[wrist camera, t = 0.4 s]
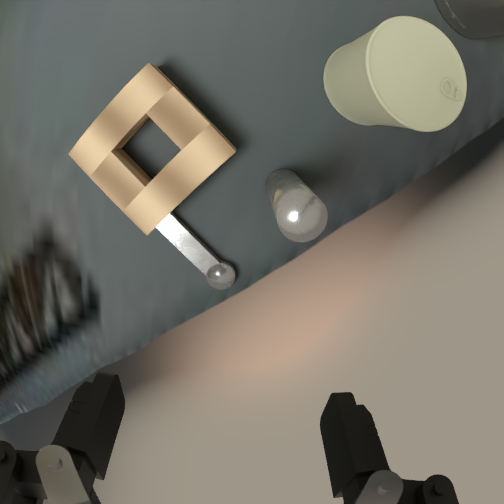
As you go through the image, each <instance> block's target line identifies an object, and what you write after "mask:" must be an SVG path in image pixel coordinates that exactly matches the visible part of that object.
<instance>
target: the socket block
mask: <svg viewBox="0 0 504 504" xmlns="http://www.w3.org/2000/svg"><path fill="white" fill-rule="evenodd" d="M149 118H151V119H152V120H153V121H154V122H155V123H156V124H157V125H158V126H159V127H160V128H161V129H162V130H163V131H164V132H165V133H166V134H167V135H168V136H169V137H170V138H171V139H172V141H173V142H174V143H175V144H176V145H177V146H178V147H179V148H180V149H181V151H180V152H179V153H178V154H177V155H176V156H175V157H174V158H173V159H172V160H171V161H170V162H169V163H168V164H167V165H166V166H165V167H164V168H163V169H162V170H161V171H160V172H159V173H158V174H157V175H156V176H155V177H154V178H153V179H151V178H150V177H149V176H148V175H147V174H146V173H145V172H144V171H143V170H142V169H141V168H140V167H139V166H138V165H137V164H136V163H135V162H134V161H133V159H132V158H131V157H130V156H129V155H128V154H127V153H126V152H125V151H124V150H123V149H122V147H123V146H124V145H125V144H126V143H127V142H128V141H129V139H130V138H131V137H132V136H133V135H134V134H135V133H136V132H137V131H138V130H139V129H140V128H141V127H142V126H143V124H144V123H145V122H146V121H147V120H148V119H149ZM235 152H236V148H235V147H234V146H233V145H232V143H231V142H230V141H229V140H228V139H227V138H226V137H225V136H224V135H223V134H222V133H221V132H220V131H219V130H218V129H217V128H216V126H215V125H214V124H213V123H212V122H211V121H210V120H209V119H208V118H207V117H206V116H205V115H204V114H203V113H202V112H201V111H200V110H199V109H198V108H197V107H196V106H195V105H194V104H193V103H192V102H191V101H190V100H189V99H188V98H187V97H186V96H185V95H184V94H183V93H182V91H181V90H180V89H179V88H178V87H177V86H176V85H175V84H174V83H172V82H171V81H170V80H169V79H168V78H167V77H166V76H165V75H164V74H163V73H162V72H161V71H160V70H159V69H158V68H157V67H156V66H154V65H152V64H151V63H148V64H147V65H146V66H145V67H144V68H143V69H142V70H141V71H140V72H139V73H138V74H137V75H136V76H135V77H134V78H133V79H132V80H131V81H130V82H129V83H128V84H127V85H126V86H125V87H124V88H123V89H122V90H121V91H120V92H119V93H118V95H117V96H116V97H115V98H114V99H113V100H112V101H111V102H110V103H109V105H108V106H107V107H106V108H105V109H104V110H103V111H102V113H101V114H100V115H99V116H98V117H97V118H96V120H95V121H94V122H93V123H92V124H91V126H90V127H89V128H88V129H87V131H86V132H85V133H84V134H83V136H82V137H81V138H80V139H79V141H78V142H77V143H76V145H75V146H74V147H73V149H72V150H71V151H70V153H69V155H70V156H71V158H72V159H73V160H74V161H75V162H76V163H77V164H78V165H79V166H80V167H81V168H82V169H83V170H84V172H85V173H86V174H87V175H88V176H89V177H90V178H91V179H92V180H93V181H94V182H95V183H96V184H97V185H98V186H99V187H100V188H101V189H102V190H103V192H104V193H105V194H106V195H107V196H108V197H109V198H110V199H111V200H112V201H113V202H114V203H115V204H116V205H117V206H118V207H119V208H120V209H121V210H122V211H123V212H124V213H125V214H126V215H127V216H128V217H129V218H130V219H131V220H132V221H133V222H134V223H135V224H136V225H137V226H138V227H139V228H140V229H141V230H142V231H143V232H144V233H145V234H146V235H148V234H149V233H150V232H151V231H152V230H153V229H154V228H155V227H156V226H157V225H158V224H159V223H160V222H161V221H162V220H163V219H164V218H165V217H166V216H167V215H168V214H169V213H170V212H171V211H172V210H173V209H174V208H175V207H176V206H177V205H179V204H180V203H181V202H182V201H183V200H184V199H185V198H186V197H187V196H188V195H189V194H190V193H191V192H192V191H193V190H194V189H195V188H196V187H198V186H199V185H200V184H201V183H202V182H203V181H204V180H205V179H206V178H207V177H208V176H209V175H211V174H212V173H213V172H214V171H215V170H216V169H217V168H218V167H219V166H220V165H222V164H223V163H224V162H225V161H226V160H227V159H228V158H229V157H231V156H232V155H233V154H234V153H235Z"/></svg>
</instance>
